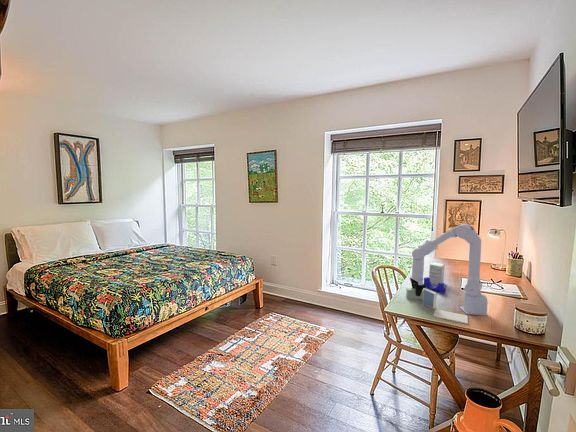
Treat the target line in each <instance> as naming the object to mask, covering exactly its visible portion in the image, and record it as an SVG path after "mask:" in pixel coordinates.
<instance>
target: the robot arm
mask: <svg viewBox="0 0 576 432" xmlns="http://www.w3.org/2000/svg"><path fill="white" fill-rule="evenodd" d="M457 237H458V238H460V239H463V240H465V242H466V243H468V244H469V249H468V250H469V251H468V252H469V255H468V274H467V275H468V276H467V280H466V284H465V286H464V294H463V295H464V296H463V306H459V308H460V309H461V310H462V311H463V313H465V315H475V316H477V315H478V316H488V314H487V313H488V303H489V302H488V298H487V296H486V295H484V294H482V293H481V290H482V288H483V283H482V282H481V274H480V273H481V257H482V256H481V255H482V239H481V237H480V236H479V234H478V232H477V231H476V229H475V228H474V227H473V226H472V225H471V224H469V223H461V224H460V225H457V226H455V227H453V228H450V229H448V230H447V231H445V232H444V233H442V234H441V235H440V236H438V237H436V238H435V239H429V240H428V239H426V240H425V242H424V243H423V244H421V245H418V246H417V247H418V248H414V249H413V251H412V252H411V255H412V270H411V275H410V276H408V278H409V280H410V283H411V284H410V285H411V288H414V289H415V293H416V296H421V293H422V290H423V289H425V284H424V272H425V271H424V270H425V269H424V268H425V257H426V256H427V255H430V254H431V253H433V252H434V251H436V250H437V249H438V247H439V245H440V244H442V243H444V242H445V241H447V240H448V239H450V238H457Z"/></svg>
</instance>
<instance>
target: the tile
mask: <svg viewBox="0 0 576 432" xmlns="http://www.w3.org/2000/svg"><path fill="white" fill-rule="evenodd" d="M423 289H424V292H423V299H422V304H423V305H424V306H427V307H429V308H431V309H433V310H435V309H437V295H438V293H437V292H435V291H433V290H430V289H428V288H423Z"/></svg>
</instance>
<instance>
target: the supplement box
mask: <svg viewBox="0 0 576 432" xmlns="http://www.w3.org/2000/svg"><path fill="white" fill-rule="evenodd" d="M428 272H429V273H428V277H429V278H430V282H431V284H432V285H433V286H438V283H444V280H445V279H444V278H445V277H444V276H445V263H442V262H441V263H440V262H439V263H438V262H434V261H433V262H431V263H430V264H429V271H428Z"/></svg>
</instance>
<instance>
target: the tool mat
mask: <svg viewBox="0 0 576 432" xmlns="http://www.w3.org/2000/svg"><path fill="white" fill-rule="evenodd" d="M433 318H437V319H442V320H445V321H447V320H448V321H451V322H456V323H459V324H461V323H462V324H465V325H466V324H467V325H469V317H468V314H462V313H457V312H456V313H455V312H452V311H446V310H441V309H437V308H435V309H434V312H433Z"/></svg>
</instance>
